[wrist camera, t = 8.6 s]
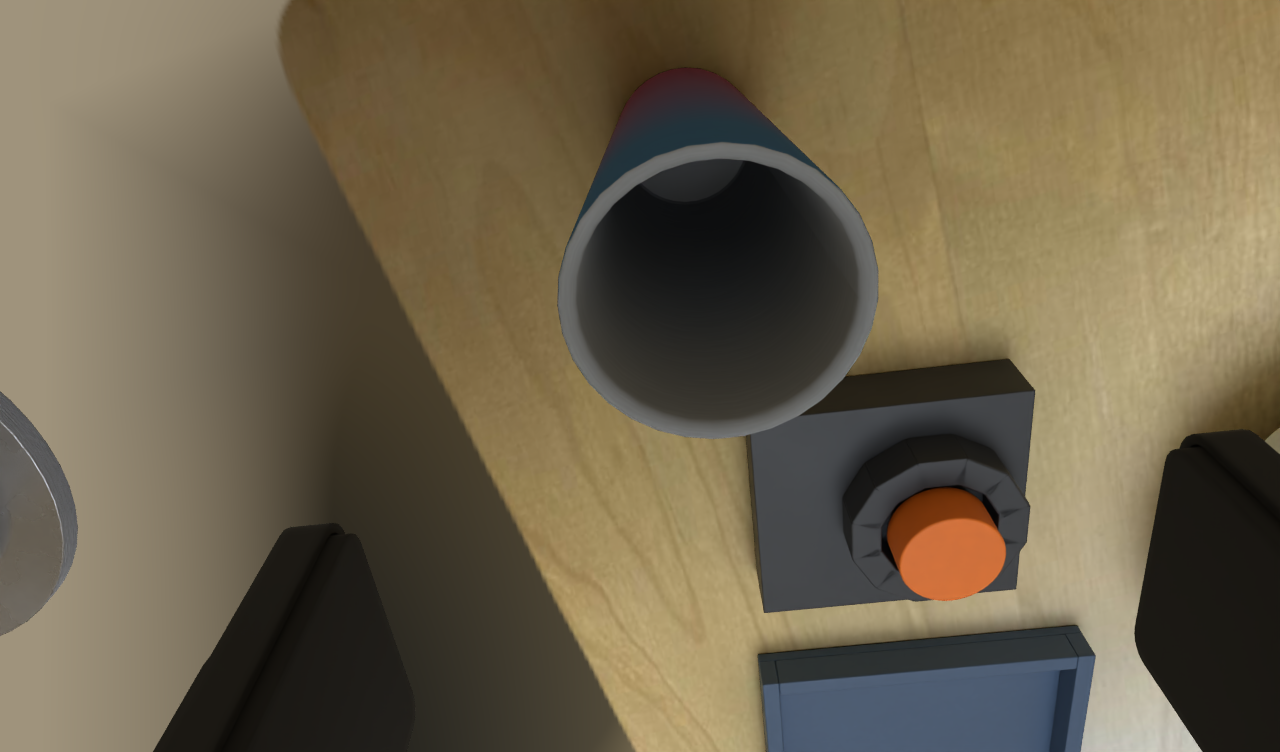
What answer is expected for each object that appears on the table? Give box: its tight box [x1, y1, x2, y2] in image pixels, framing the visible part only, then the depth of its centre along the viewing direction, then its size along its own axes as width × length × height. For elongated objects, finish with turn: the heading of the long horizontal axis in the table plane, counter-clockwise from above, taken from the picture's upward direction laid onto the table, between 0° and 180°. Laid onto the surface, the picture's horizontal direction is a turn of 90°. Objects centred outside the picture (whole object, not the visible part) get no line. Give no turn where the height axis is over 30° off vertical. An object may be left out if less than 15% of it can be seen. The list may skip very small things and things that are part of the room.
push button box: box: [746, 359, 1035, 613], centre depth 37 cm, size 11×10×4 cm
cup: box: [557, 68, 878, 439], centre depth 25 cm, size 7×7×15 cm
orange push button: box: [887, 487, 1006, 601], centre depth 34 cm, size 4×4×2 cm
